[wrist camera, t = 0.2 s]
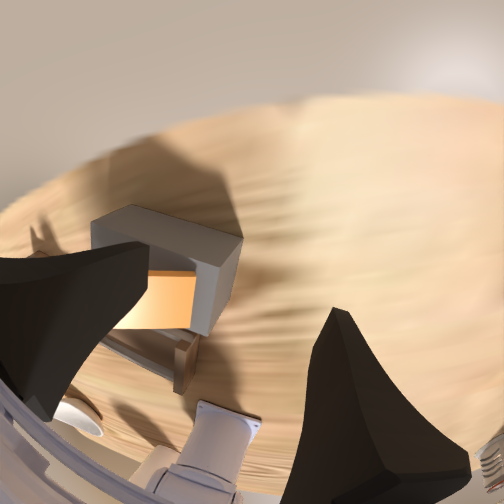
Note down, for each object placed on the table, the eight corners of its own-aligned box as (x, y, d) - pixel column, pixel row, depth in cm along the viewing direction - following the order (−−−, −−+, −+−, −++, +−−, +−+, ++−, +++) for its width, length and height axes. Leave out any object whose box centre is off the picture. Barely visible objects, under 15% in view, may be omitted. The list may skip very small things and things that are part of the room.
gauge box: (229, 299, 22) (207, 336, 18) (126, 260, 24) (91, 285, 19) (243, 238, 20) (219, 267, 16) (128, 203, 21) (87, 220, 17)
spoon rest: (94, 400, 41) (75, 424, 34) (118, 432, 45) (103, 454, 38) (35, 367, 47) (18, 383, 40) (56, 398, 51) (42, 415, 44)
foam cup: (197, 468, 41) (174, 517, 30) (157, 455, 44) (133, 499, 32) (186, 450, 38) (158, 506, 26) (143, 435, 40) (112, 484, 29)
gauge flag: (188, 321, 18) (189, 327, 17) (85, 321, 15) (84, 327, 14) (194, 271, 16) (196, 276, 16) (77, 268, 13) (75, 274, 13)
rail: (194, 373, 27) (182, 395, 24) (47, 294, 30) (31, 305, 27) (201, 328, 24) (185, 351, 21) (39, 250, 27) (20, 260, 24)
